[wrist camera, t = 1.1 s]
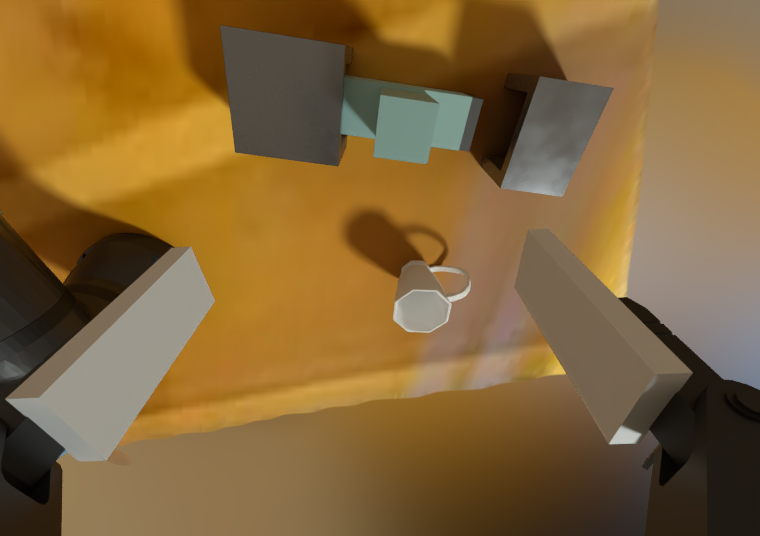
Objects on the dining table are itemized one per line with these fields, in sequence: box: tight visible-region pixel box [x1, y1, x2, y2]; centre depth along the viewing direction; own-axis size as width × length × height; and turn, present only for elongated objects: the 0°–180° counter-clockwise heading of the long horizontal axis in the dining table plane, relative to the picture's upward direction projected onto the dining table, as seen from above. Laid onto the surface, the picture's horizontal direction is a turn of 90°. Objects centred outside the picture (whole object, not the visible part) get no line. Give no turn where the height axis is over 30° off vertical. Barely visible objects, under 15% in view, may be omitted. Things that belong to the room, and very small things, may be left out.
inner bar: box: [341, 75, 483, 164], centre depth 27 cm, size 21×4×12 cm, turn 83°
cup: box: [393, 260, 471, 333], centre depth 39 cm, size 7×10×8 cm
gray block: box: [220, 25, 353, 166], centre depth 28 cm, size 9×9×7 cm
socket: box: [481, 73, 614, 196], centre depth 30 cm, size 6×9×7 cm
